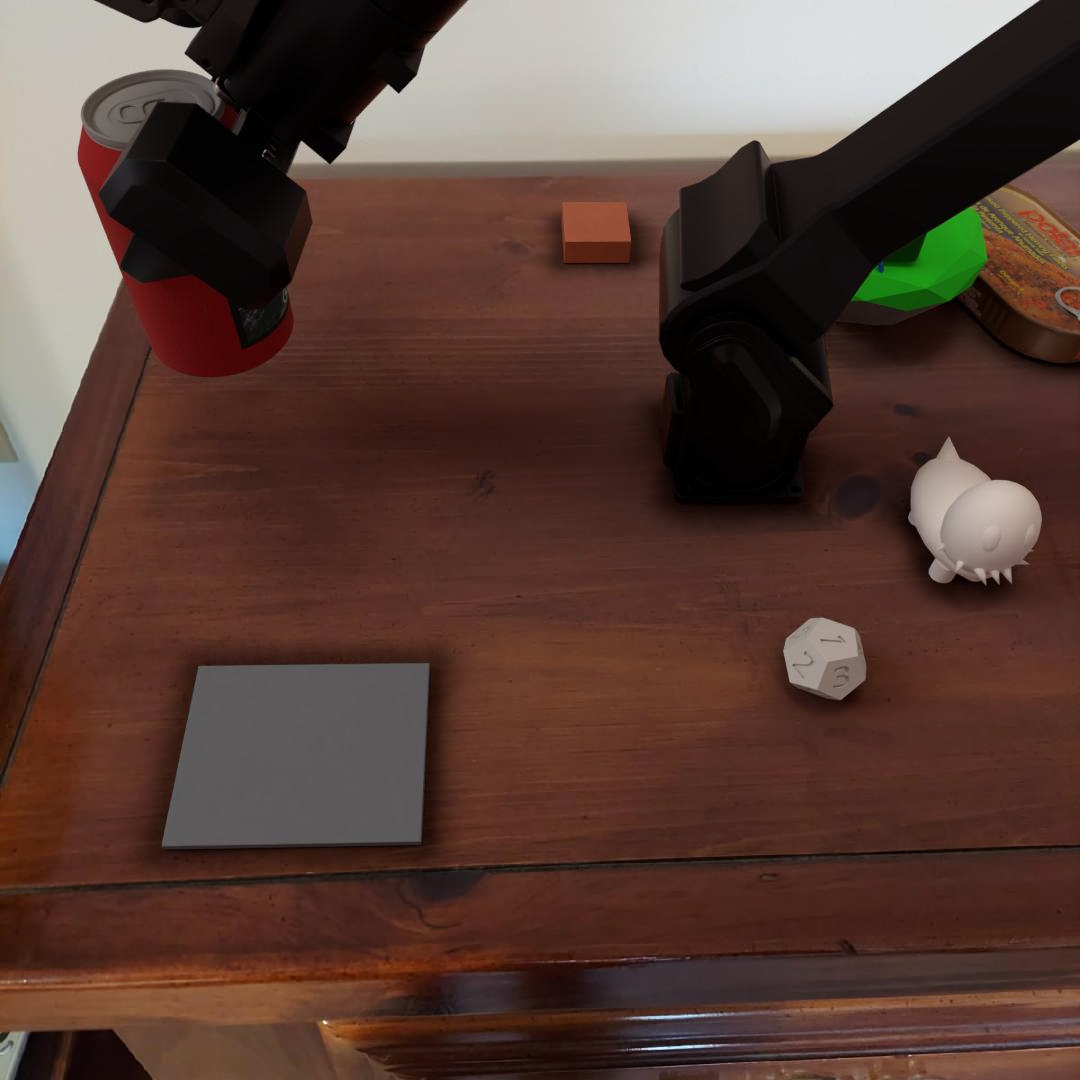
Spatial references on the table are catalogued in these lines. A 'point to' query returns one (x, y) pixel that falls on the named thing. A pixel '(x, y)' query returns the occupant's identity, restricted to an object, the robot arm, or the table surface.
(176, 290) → the beverage can
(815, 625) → the game die
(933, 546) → the toy creature
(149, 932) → the table surface
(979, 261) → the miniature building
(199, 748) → the grey mat
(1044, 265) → the tin
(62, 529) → the table surface
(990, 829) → the table surface
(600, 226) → the terracotta tile
